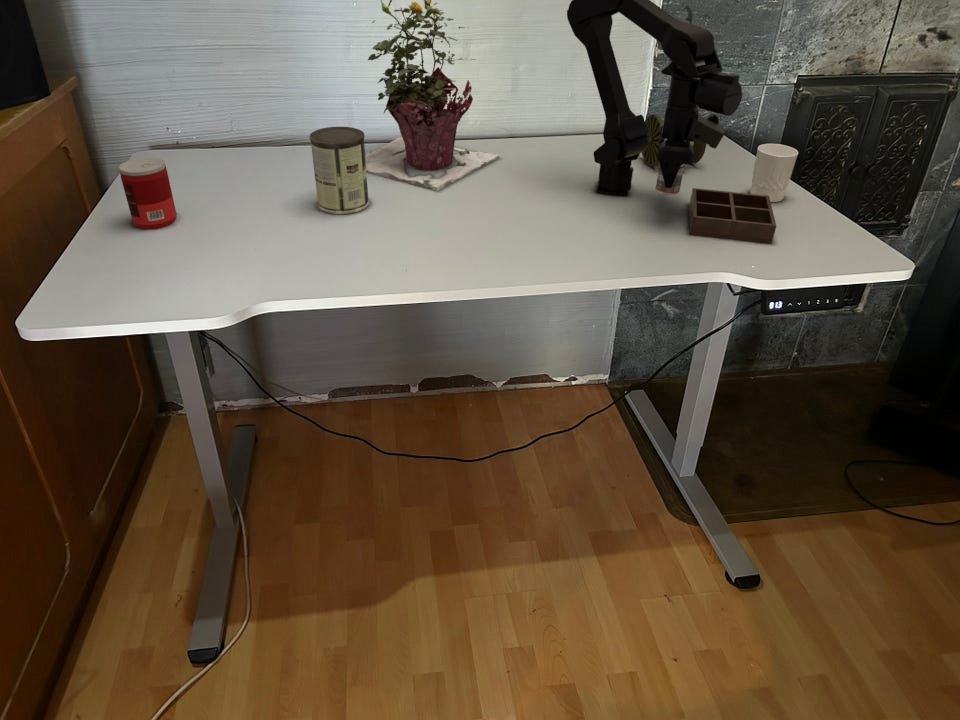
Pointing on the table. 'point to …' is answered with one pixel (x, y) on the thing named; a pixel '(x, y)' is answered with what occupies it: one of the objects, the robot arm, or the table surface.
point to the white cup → (773, 170)
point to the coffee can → (340, 169)
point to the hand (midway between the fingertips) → (668, 183)
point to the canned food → (148, 192)
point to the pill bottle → (675, 187)
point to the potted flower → (422, 109)
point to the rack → (731, 215)
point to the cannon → (654, 136)
